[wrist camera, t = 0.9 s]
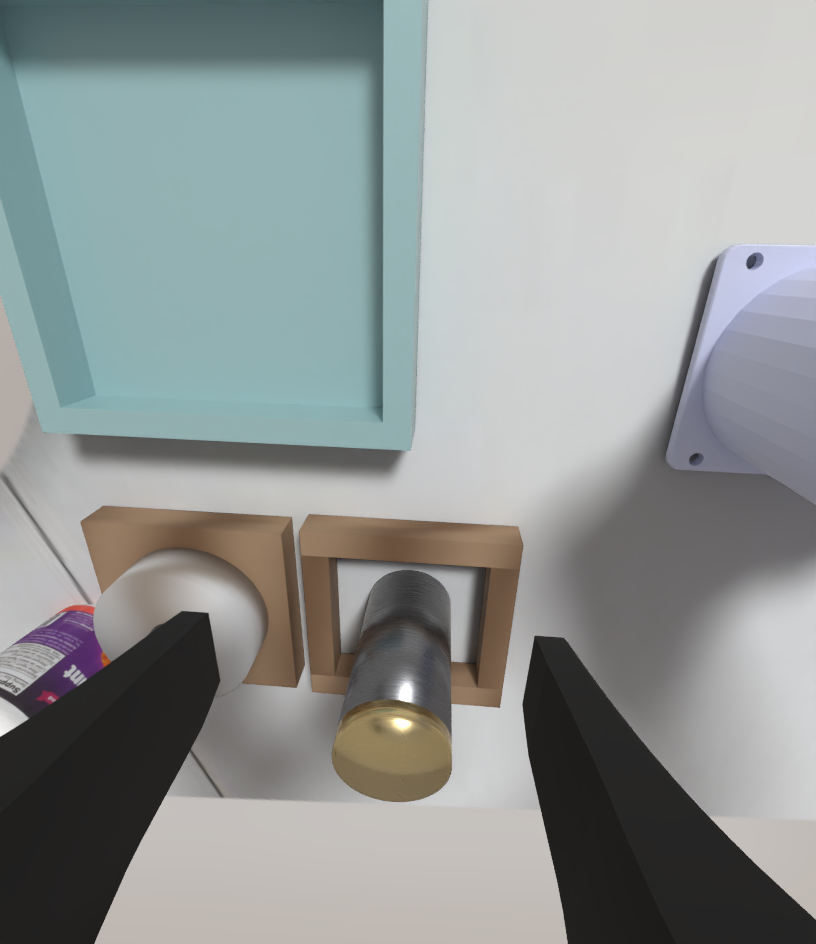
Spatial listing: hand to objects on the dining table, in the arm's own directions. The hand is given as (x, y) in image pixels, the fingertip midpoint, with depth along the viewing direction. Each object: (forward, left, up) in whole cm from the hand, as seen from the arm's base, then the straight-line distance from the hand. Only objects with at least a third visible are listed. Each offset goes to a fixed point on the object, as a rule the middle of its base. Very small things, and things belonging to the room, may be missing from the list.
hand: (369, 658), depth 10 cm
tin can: (0, +7, -10) cm, 13 cm away
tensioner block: (+5, +7, -10) cm, 13 cm away
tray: (+7, -9, -10) cm, 15 cm away
